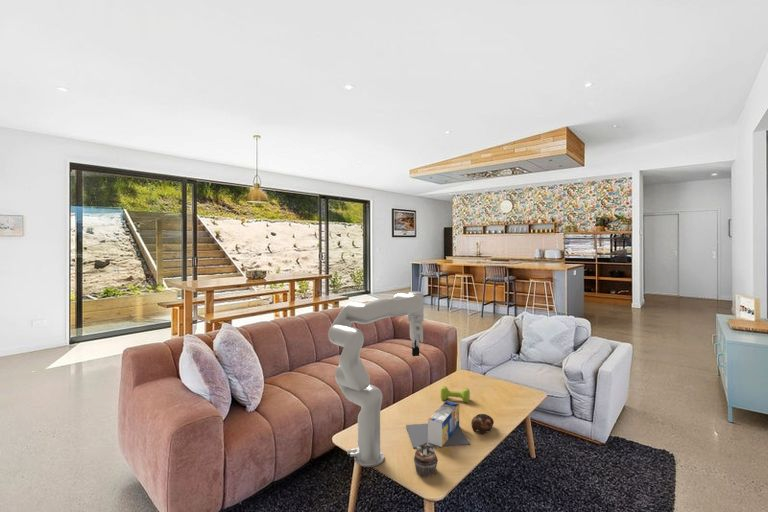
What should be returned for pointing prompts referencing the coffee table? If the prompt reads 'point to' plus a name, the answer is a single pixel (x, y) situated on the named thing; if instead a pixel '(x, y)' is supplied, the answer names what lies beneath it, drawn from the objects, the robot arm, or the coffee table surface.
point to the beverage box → (443, 423)
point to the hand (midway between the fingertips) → (415, 355)
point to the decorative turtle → (482, 423)
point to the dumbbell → (455, 394)
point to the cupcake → (425, 460)
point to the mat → (420, 436)
